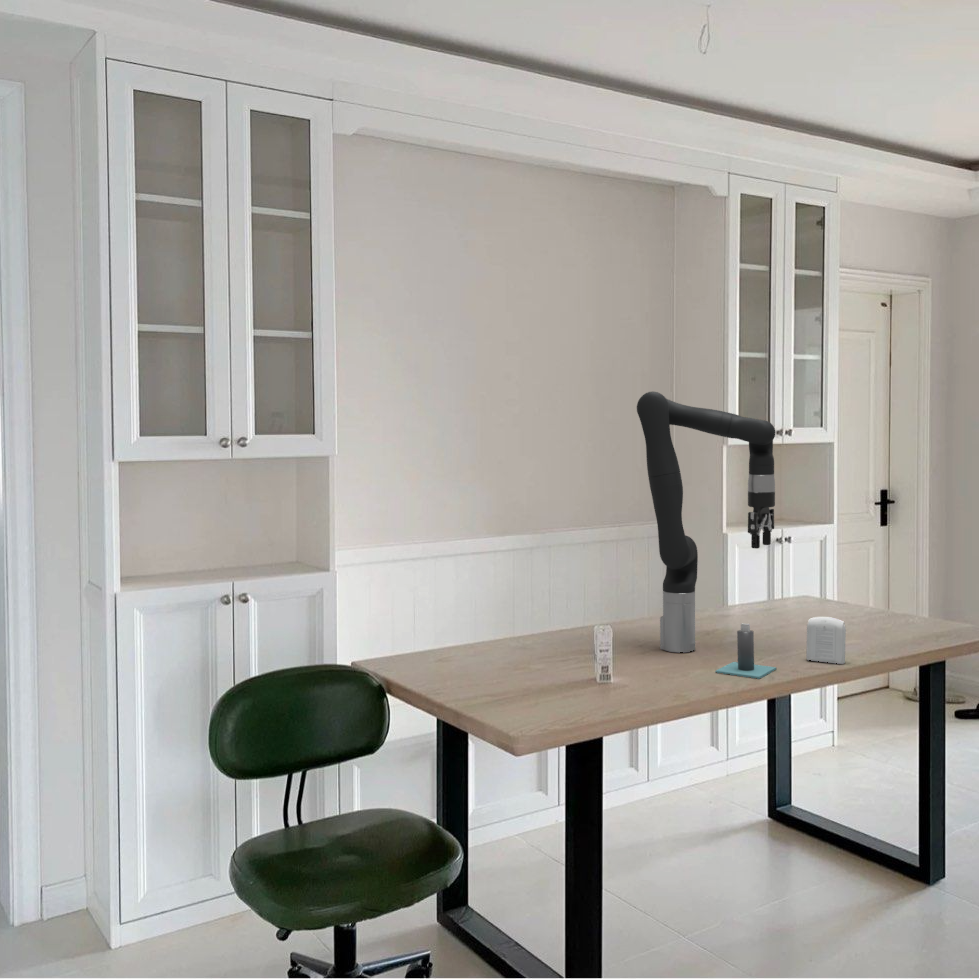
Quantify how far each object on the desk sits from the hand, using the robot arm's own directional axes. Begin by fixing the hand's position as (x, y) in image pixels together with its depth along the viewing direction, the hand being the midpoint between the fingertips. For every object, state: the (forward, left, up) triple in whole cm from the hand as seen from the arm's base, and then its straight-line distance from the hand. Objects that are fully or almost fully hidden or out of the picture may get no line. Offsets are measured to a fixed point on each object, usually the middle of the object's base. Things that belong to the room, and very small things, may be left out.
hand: (761, 546), depth 294 cm
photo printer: (+20, -4, -30) cm, 37 cm away
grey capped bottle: (+6, -26, -29) cm, 40 cm away
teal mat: (+6, -26, -30) cm, 40 cm away
